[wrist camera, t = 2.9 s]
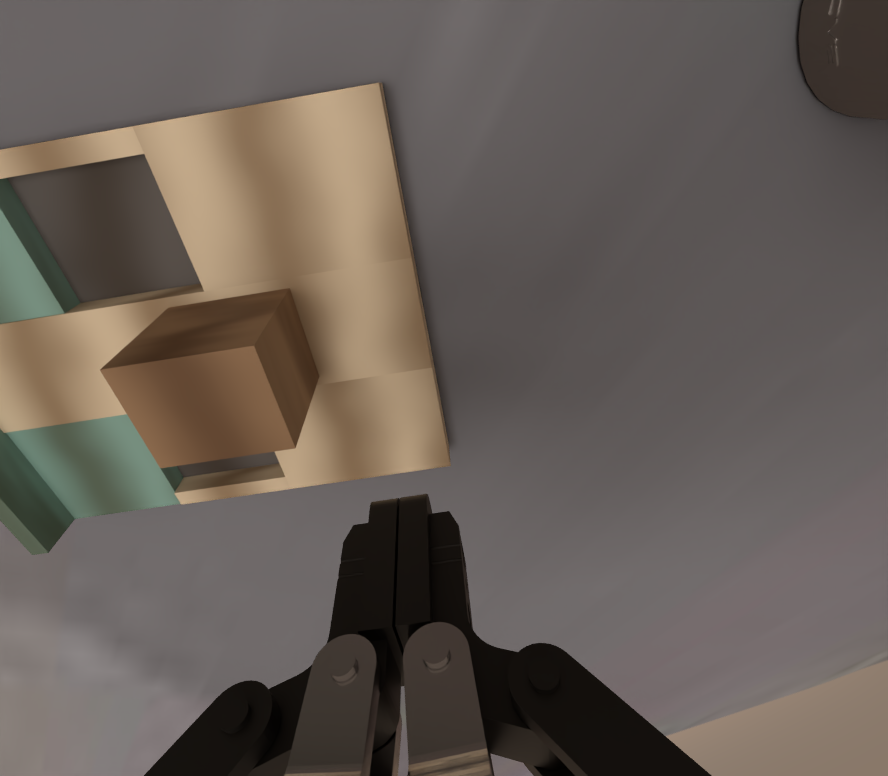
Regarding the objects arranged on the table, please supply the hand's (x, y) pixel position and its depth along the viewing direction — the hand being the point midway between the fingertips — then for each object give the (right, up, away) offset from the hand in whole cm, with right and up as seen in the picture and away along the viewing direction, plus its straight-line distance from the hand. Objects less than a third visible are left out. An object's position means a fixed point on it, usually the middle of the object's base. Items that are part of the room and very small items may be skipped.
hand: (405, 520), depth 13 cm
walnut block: (-9, +6, +12) cm, 16 cm away
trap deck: (-12, +6, +13) cm, 19 cm away
